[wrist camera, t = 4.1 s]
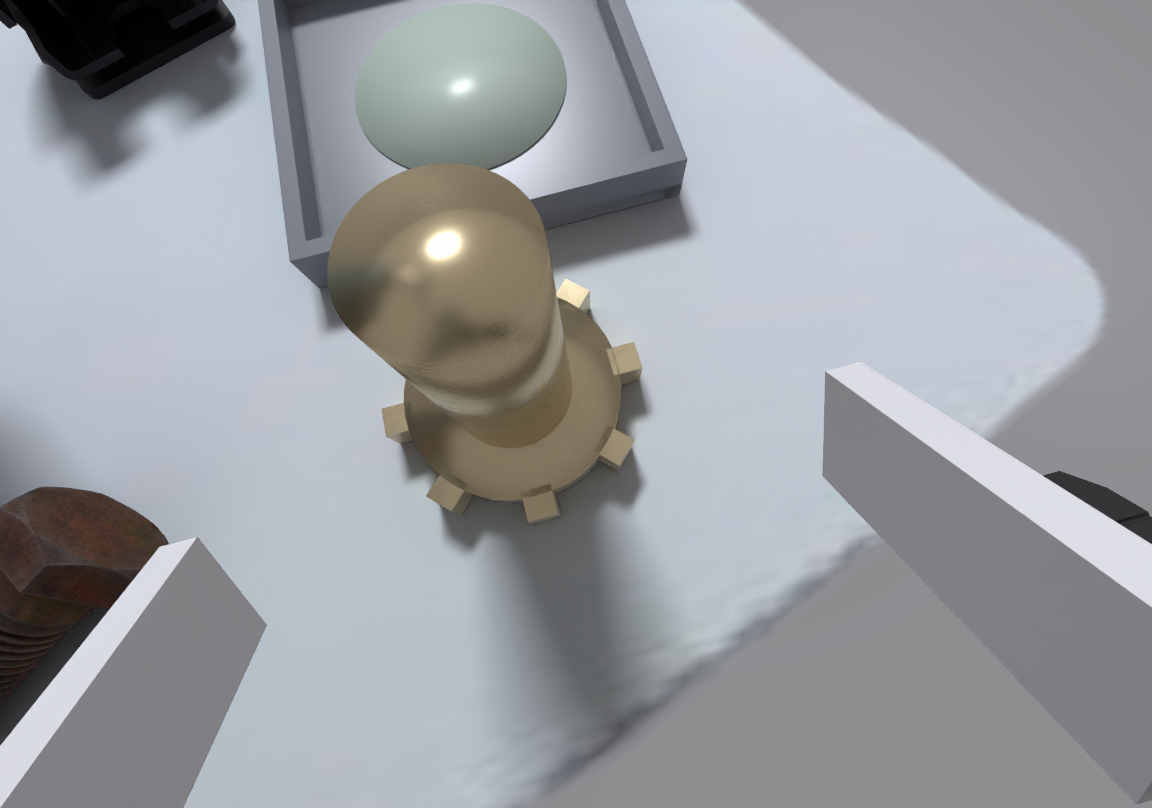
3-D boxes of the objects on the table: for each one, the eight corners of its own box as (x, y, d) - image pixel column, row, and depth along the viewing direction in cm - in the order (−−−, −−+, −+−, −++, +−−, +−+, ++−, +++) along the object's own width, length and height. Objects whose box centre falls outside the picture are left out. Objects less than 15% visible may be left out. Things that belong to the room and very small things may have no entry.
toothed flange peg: (420, 555, 21) (216, 564, 10) (380, 322, 24) (188, 127, 13) (673, 485, 21) (750, 419, 10) (602, 264, 24) (603, 23, 13)
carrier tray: (318, 287, 25) (289, 261, 22) (281, 16, 30) (254, -29, 27) (679, 194, 25) (687, 158, 23) (583, -58, 30) (582, -109, 28)
